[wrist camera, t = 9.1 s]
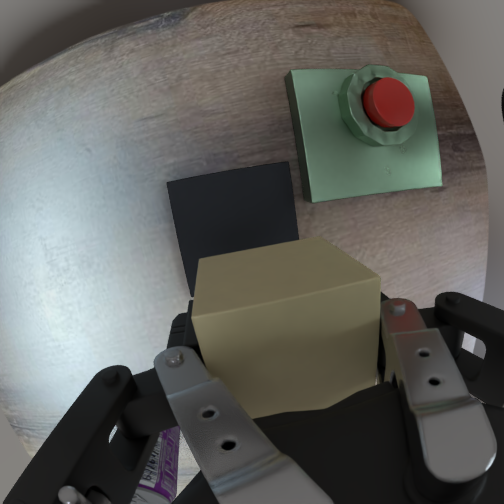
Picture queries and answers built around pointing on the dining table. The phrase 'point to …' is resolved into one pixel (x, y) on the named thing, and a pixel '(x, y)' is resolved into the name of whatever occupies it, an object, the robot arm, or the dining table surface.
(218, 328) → the block
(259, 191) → the mat
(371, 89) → the switch
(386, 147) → the switch base
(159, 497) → the beverage can
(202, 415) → the robot arm
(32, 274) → the dining table surface
